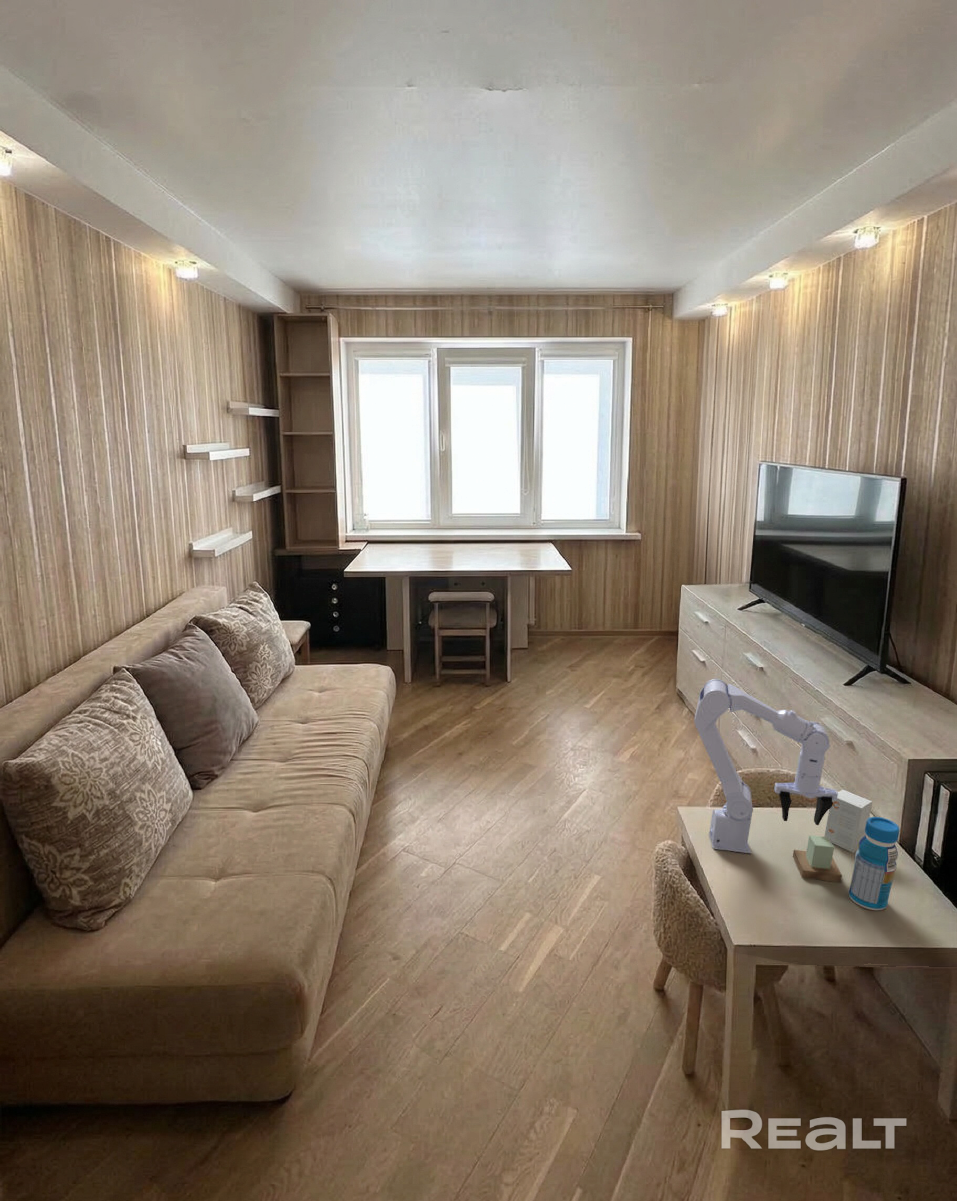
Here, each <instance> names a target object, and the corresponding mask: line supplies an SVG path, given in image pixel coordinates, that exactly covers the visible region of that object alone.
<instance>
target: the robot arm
mask: <svg viewBox="0 0 957 1201" xmlns="http://www.w3.org/2000/svg"><path fill="white" fill-rule="evenodd" d="M728 710H729V712H730V713H734V712H738V711H741V710H742V711H744V712H746V713H749V714H751V715H754V716H755V717H758V718H760V719H762V720H764V721H766V722H768V723H771V725H772V728H773V730H774V731H775V732H777V733H780V734H781V735H783V736H786V737H787V738H789V739H791V740H793V741H794V742H796V743H798V744H799V743H800V744H801V748H800V751H799V755H798V761H797V767H796V773H795V778H794V782H775V783H774V787H773V789H774V793H775V794H778V796H779V800H780V804H781V812H782V813H781V815H782V816H781V817H782V820H783V821H784V822H788V819H789V813H790V812H789V810H790V807H791V804H792V801H793V800H792V798H791V795H796V796H797V795H799V796H803V797H805V798H807V799H815V798H816V805H815V806H816V807H815V812H814V816H813V822H814V824H815V826H819V825H820V823H821V821H822V820H823V817H824V816H825V814H826V813H827V812H829V809H830V808H831V807H832V805H833V802H832V800H837V796H838V793H837V792H838V791H837V790H836V789H834V788H833V789H831V788H828V787H824V786H821V785H820V784H821V779H822V775H823V769H824V763H825V758H826V757H825V755H826V752H827V751H829V749H830V747H831V744H830V739H829V736H828V733H827V731H826V729H825V728H824V726H823V725H821V724H820V722H817V721H813V720H806V719H804V718H803V717H800V716H799V715H797V712H796V711H795V710H792V709H790V710H787V709H780V710H776V709H774V708H773V707H771V706H769V705H767V704H766V703H764V702H763V701H761V700H759V699H757V698H755V697H754V696H752V695H750V694H748V693H747V692H744V690H741V689H740V688H738V687H737V686H735V685H734V684H731V683H726V682H725V681H724V680H722V679H719V678H713V679H710V680H708V681H707V682H706V683H705V684H704V685H703V687H701V690H700V692H699V696H698V700H697V706H696V709H695V714H694V721H693V722H694V726H695V729H696V730H697V733H698V735H699V736H700V738H701V741H702V744H703V747H704V749H705V751H706V753H707V755H708V757H709V759H710V762H711V764H712V766H713V768H714V770H715V772H716V775H717V777H718V780H719V781H720V785H721V787H722V791H723V794H724V797H725V800H726V803H725V804H724V805H723V806H722V808H719V809H717V808H716V809H713V810H712V813H711V819H710V827H709V831H708V835H709V838H710V843H711V847H712V848H713V849H714V850H721V851H727V852H728V851H729V852H737V853H743V854H744V853H745V854H751V853H752V850H751V847H750V845H749V837H750V836H749V835H750V829H751V823H752V816H753V812H754V806H753V803H752V791H751V789H750V786H749V785H748V784H746V783H745V782H744V780H743V779H742V777H741V776H740V774H739V773H738V771H737V769H736V766H735V764H734V762H733V759H732V757H731V755H730V753H729V751H728V749H727V747H726V744H725V742H724V740H723V737H722V735H721V732H720V730H719V729H718V726H717V724H716V723H717V721H718V719H719V717H721V716H722V715H724V714H725V713H726V712H727V711H728ZM790 794H791V795H790Z"/></svg>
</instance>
